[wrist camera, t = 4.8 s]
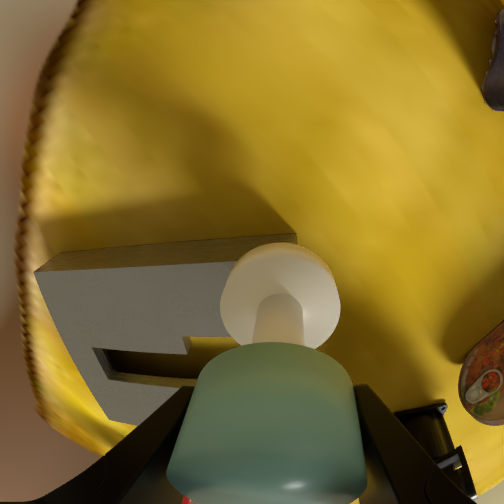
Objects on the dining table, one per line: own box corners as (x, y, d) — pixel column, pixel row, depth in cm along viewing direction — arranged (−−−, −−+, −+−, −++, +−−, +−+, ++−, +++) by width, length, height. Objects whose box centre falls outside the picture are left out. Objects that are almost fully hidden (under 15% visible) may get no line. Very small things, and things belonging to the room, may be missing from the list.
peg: (336, 239, 12) (403, 434, 4) (333, 334, 14) (355, 516, 6) (219, 245, 13) (123, 428, 4) (233, 337, 14) (188, 511, 6)
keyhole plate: (296, 233, 18) (298, 257, 15) (302, 405, 24) (302, 436, 21) (60, 252, 21) (33, 272, 17) (122, 395, 27) (109, 419, 24)
